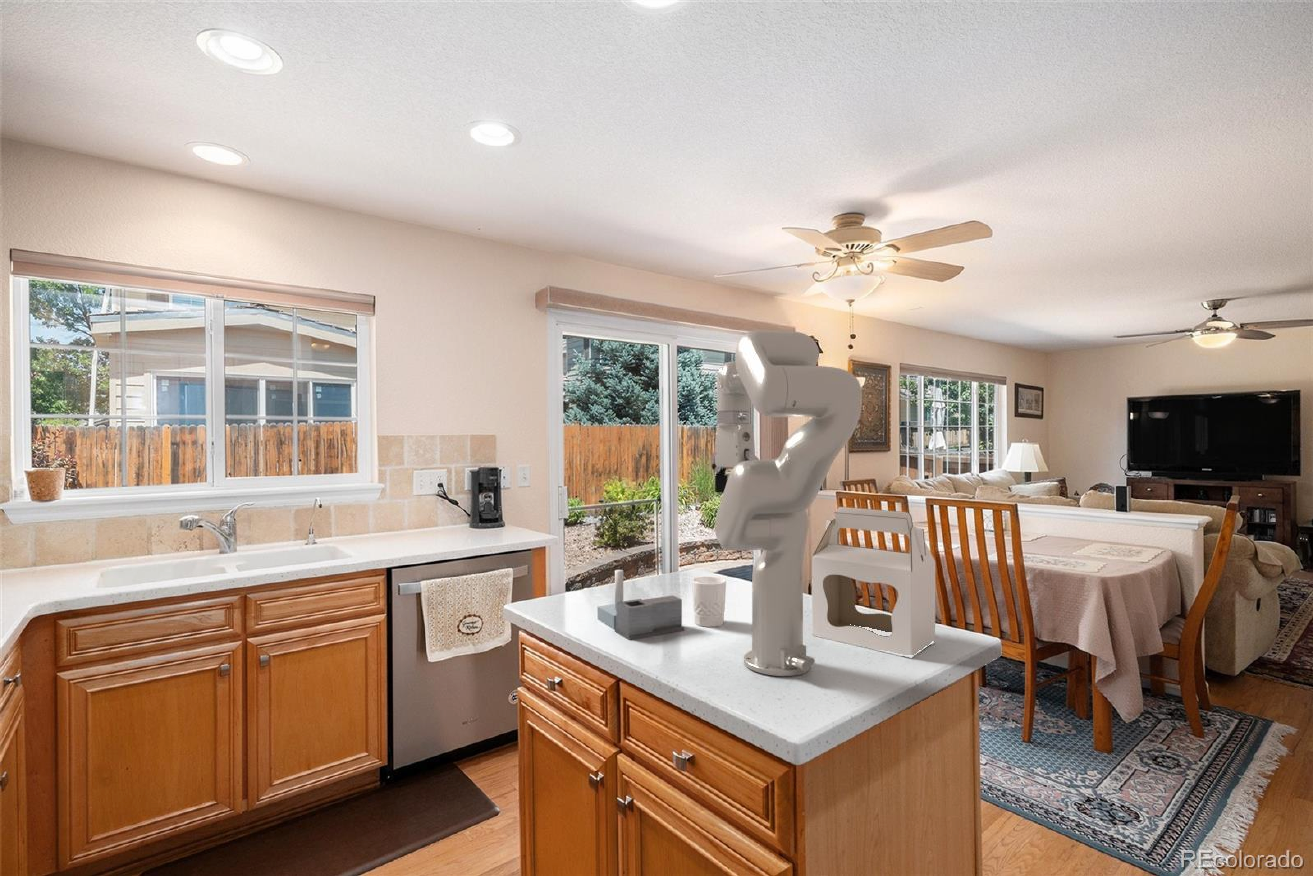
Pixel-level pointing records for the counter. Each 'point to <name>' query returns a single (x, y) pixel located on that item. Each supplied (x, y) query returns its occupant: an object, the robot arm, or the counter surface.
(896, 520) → the gable box
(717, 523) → the robot arm
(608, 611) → the grey peg stand
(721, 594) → the white cup
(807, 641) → the counter surface
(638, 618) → the block
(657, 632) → the mat
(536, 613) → the counter surface
